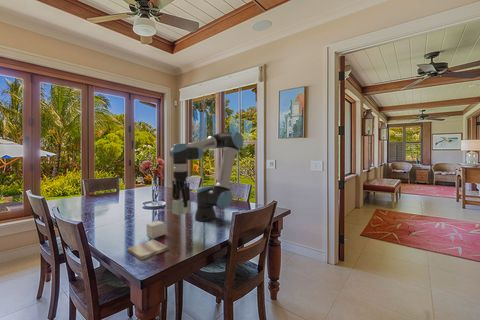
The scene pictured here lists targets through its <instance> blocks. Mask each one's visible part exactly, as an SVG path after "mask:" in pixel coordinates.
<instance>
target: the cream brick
mask: <svg viewBox="0 0 480 320" xmlns="http://www.w3.org/2000/svg"><path fill="white" fill-rule="evenodd" d="M165 224H166V223H165V222H164V221H162V220H156V221H153V222H149V223H146V236H147V237H148V238H150V239H155V238H158V237H162V236H163V235H165V234H166V233H165V232H166V231H165V230H166V228H165V227H166V225H165Z"/></svg>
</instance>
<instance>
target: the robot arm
mask: <svg viewBox="0 0 480 320" xmlns="http://www.w3.org/2000/svg"><path fill="white" fill-rule="evenodd" d="M243 146H244V138H243V135H242V134H241V133H240V132H237V131H231V132H230V131H229V132H219V133H215V134H213V135H209V136H208V137H207V138H204V139H202V140H201V139H200V140H197V141H195V142H191V143H187V144H186V143H174V144H173V145H172V147H171V148H170V150H169V156H170V158H171V159H173V160H172V162H173V171H174V172H173V179H174V180H172V183H171V184H172V199H174V200H178V199H183V201H182V213H184V214H188V213H187V201H189V200H190V201H191V196H190V194H191V193H190V185H191V184H190V182H187V179H188V161H193V160H194V161H197V160H201V159H202V158H203V156H204V151H208V150H215V149H222V150H223V154H222V158H221V163H220V166H219V171H218V177H217V180H216V184H215V185H214V186H213V185H208V186H201V187H198V188H197V189H196V211H195V214H194V221H197V222H203V221H205V222H210V220H212V221H214V220H213V219H215V218H216V219H217V215H216V212H215V211H216V210H215V209H214V207H217V208H223V209H224V208H225V209H226V208H227V207H229V206H230V204H232V203H231V202H232V201H233V193H232V191H231V188H230V181H231V177H232V173H233V169H234V168H233V167H234V164H235V158H236V155H237V153H239V149H241V148H242V147H243ZM180 196H181V197H182V198H181V197H180ZM216 219H215V220H216Z"/></svg>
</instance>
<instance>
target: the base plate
mask: <svg viewBox="0 0 480 320" xmlns="http://www.w3.org/2000/svg"><path fill="white" fill-rule="evenodd" d="M126 249H127V250H126V251H127V252H128V253H129V254H131V255H133V256H134V257H135V258H136V259H138V260H139V261H142V260H145V259H147V258H150V257H152V256H155V255H158V254H160V253H164V252H166V251H168V250H169V246H167V245H165V244H164V243H161V242H160V241H158V240H155V239H151V240H148V241H144V242H142V243H139V244H136V245H132V246H130V247H127V248H126Z"/></svg>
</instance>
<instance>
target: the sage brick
mask: <svg viewBox="0 0 480 320" xmlns="http://www.w3.org/2000/svg"><path fill="white" fill-rule="evenodd" d="M182 201H183V198H180V199H178V200H175V199H174V200H171V213H172V214H174V215H177V216H180V215H183V214H185V213H182ZM188 213H191V199H190V200H189V201H187V213H186V214H188Z"/></svg>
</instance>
